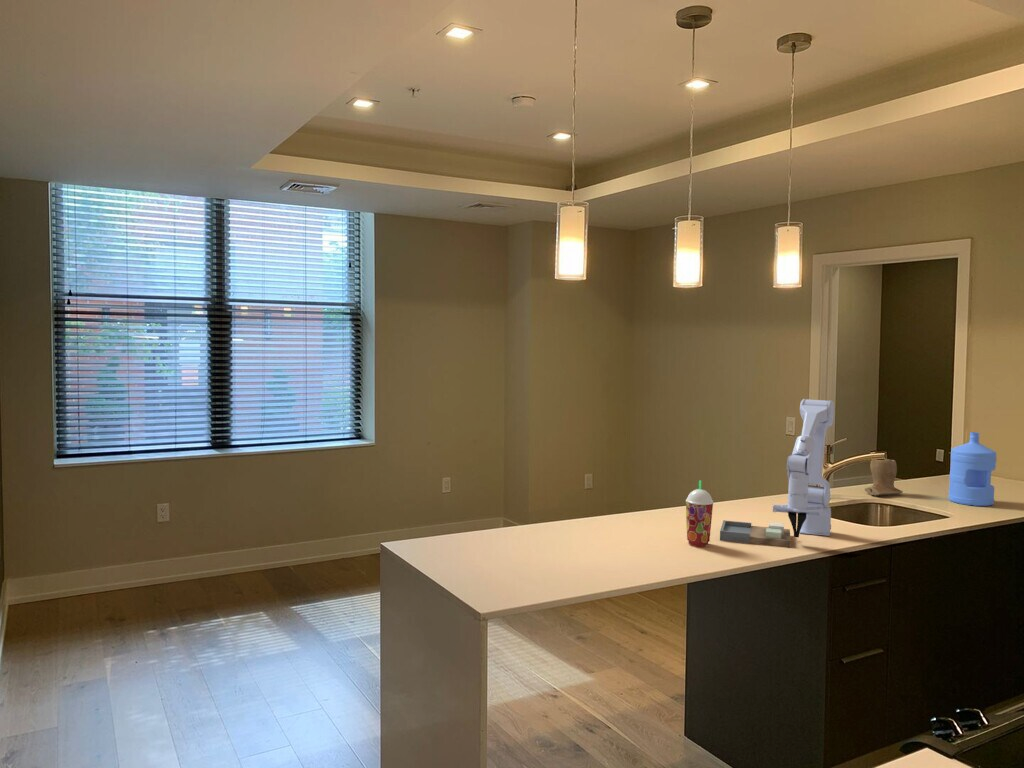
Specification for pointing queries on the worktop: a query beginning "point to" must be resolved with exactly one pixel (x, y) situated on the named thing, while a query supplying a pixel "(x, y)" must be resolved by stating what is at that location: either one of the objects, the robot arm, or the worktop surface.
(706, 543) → the smoothie
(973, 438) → the water jug
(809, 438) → the robot arm
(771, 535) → the sage tile
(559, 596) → the worktop surface
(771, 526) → the cream tile
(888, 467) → the stone cup
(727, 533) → the slate tray
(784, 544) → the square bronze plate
